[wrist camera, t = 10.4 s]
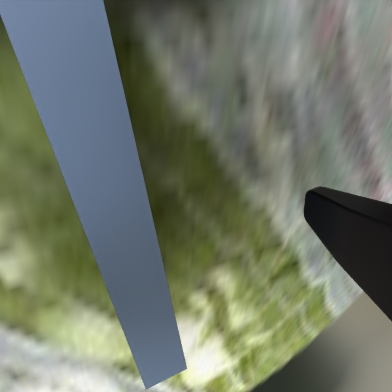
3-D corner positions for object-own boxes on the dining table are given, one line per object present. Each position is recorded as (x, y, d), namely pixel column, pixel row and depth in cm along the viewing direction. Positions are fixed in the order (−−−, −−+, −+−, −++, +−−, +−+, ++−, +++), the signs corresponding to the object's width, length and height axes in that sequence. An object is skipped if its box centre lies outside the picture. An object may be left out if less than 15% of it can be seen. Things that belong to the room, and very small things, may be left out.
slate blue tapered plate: (-81, -231, 11) (-200, -499, 4) (2, -228, 11) (-2, -459, 5) (111, 285, 25) (146, 389, 19) (143, 272, 25) (186, 368, 19)
